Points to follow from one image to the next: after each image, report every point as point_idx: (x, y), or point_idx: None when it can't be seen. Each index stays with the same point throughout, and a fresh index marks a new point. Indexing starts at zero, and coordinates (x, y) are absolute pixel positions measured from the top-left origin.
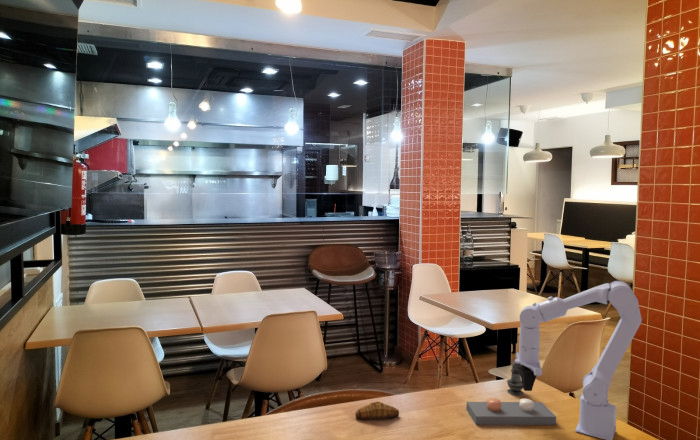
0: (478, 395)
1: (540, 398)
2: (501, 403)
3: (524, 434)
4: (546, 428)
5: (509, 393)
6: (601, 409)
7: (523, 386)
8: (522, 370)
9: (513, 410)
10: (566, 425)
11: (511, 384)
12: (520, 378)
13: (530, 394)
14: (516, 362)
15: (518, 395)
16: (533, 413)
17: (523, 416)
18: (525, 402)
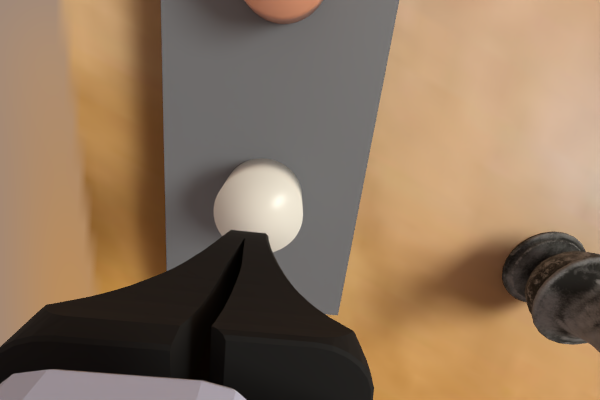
0: (592, 32)
1: (444, 342)
2: (359, 76)
3: (70, 71)
4: (146, 218)
5: (541, 233)
6: None
7: (244, 238)
8: (26, 328)
9: (248, 107)
10: None
11: (570, 265)
12: (586, 341)
13: (496, 322)
14: (10, 389)
15: (504, 265)
16: (204, 207)
17: (165, 129)
18: (242, 199)
